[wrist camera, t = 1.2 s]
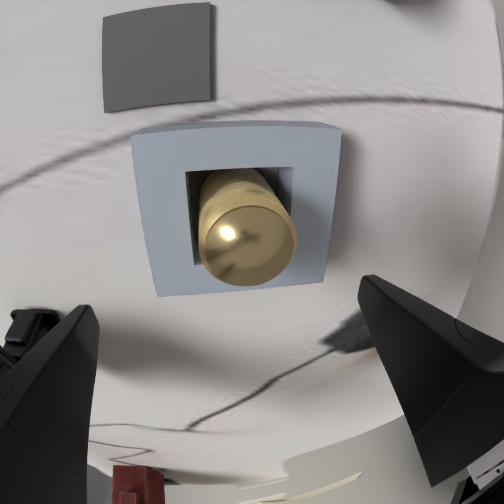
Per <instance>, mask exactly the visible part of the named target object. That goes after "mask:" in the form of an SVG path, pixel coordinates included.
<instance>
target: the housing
mask: <svg viewBox="0 0 504 504" xmlns="http://www.w3.org/2000/svg"><path fill="white" fill-rule="evenodd" d="M341 132H342V129H339V128H336V127H333V126H330V125H327V124H324V123H321V122H304V121H220V122H202V123H188V124H177V125H167V126H158V127H150V128H143V129H141V130H139V131H138V132H136V133H134V134H133V135H131V145H132V155H133V164H134V172H135V180H136V187H137V194H138V201H139V207H140V213H141V219H142V225H143V231H144V236H145V242H146V247H147V252H148V257H149V262H150V267H151V271H152V276H153V280H154V285H155V289H156V293H157V297H164V296H179V295H193V294H206V293H219V292H230V291H242V290H253V289H263V288H273V287H283V286H293V285H302V284H311V283H320V282H323V280H324V274H325V268H326V262H327V255H328V249H329V242H330V235H331V228H332V220H333V213H334V205H335V196H336V187H337V178H338V168H339V157H340V145H341ZM257 167H279V175H278V199H279V201H280V203H281V204H282V206H283V207H284V209H285V210H286V212H287V213H288V215H289V216H290V218H291V219H292V221H293V223H294V225H295V228H296V231H297V248H296V251H295V254H294V257H293V259H292V260H291V262H290V264H289V265H288V266H287V267H286V269H285V270H284V271H283V272H282V273H280V274H279V275H278V276H276V277H275V278H273V279H272V280H270V281H268V282H266V283H263V284H260V285H256V286H246V287H244V286H234V285H230V284H227V283H224V282H222V281H220V280H218V279H217V278H215V277H214V276H213V275H211V274H210V273H209V272H208V270H207V269H206V268H205V266H204V265H203V263H202V260H201V258H200V254H199V239H197V240H195V236H194V226H193V215H192V204H191V192H190V179H189V171H200V170H215V169H233V168H257Z"/></svg>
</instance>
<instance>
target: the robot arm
mask: <svg viewBox="0 0 504 504" xmlns="http://www.w3.org/2000/svg"><path fill="white" fill-rule="evenodd" d="M358 303H359V305H360V308H361V311H362V314H363V316H364V319H365V322H366V325H367V328H368V331H369V334H370V336H371V339H372V341H373V343H374V345H375V348H376V350H377V352H378V354H379V356H380V358H381V361H382V363H383V365H384V367H385V370H386V372H387V374H388V376H389V379H390V381H391V383H392V386H393V388H394V390H395V393H396V395H397V397H398V400H399V402H400V405H401V407H402V409H403V412H404V414H405V417H406V419H407V422H408V424H409V427H410V430H411V432H412V435H413V437H414V440H415V443H416V446H417V449H418V451H419V454H420V457H421V460H422V462H423V465H424V468H425V471H426V474H427V476H428V479H429V483H430V485H431V487H434V486H436V485H438V484H439V483H441V482H443V481H445V480H446V479H448V478H450V477H451V476H453V475H455V474H456V473H458V472H459V471H461V470H463V469H464V468H466V467H467V469H468V471H469V473H470V475H469V476H468V477H466V478H465V479H463V480H462V481H460V482H459V483H458V485H457V488H456V491H455V494H454V496H453V499H452V502H451V504H504V343H503V342H501V341H499V340H497V339H495V338H493V337H491V336H489V335H486V334H484V333H482V332H480V331H478V330H476V329H474V328H472V327H471V326H469V325H467V324H465V323H463V322H461V321H460V320H458V319H456V318H454V317H452V316H451V315H449V314H447V313H445V312H443V311H442V310H440V309H438V308H436V307H434V306H433V305H431V304H429V303H427V302H425V301H423V300H421V299H420V298H418V297H416V296H414V295H412V294H410V293H408V292H407V291H405V290H403V289H401V288H399V287H397V286H395V285H393V284H391V283H389V282H388V281H386V280H384V279H382V278H380V277H378V276H376V275H373V274H372V275H365V276H363V277H362V279H361V283H360V287H359V291H358ZM10 315H11V317H12V319H13V323H12V325H11V327H10V328H9V330H8V332H7V334H6V336H5V341H6V342H5V344H4V346H3V348H2V346H1V345H0V504H87V481H86V480H87V453H88V437H89V425H90V415H91V406H92V398H93V390H94V383H95V377H96V369H97V356H98V342H99V331H100V327H99V323H98V320H97V318H96V316H95V314H94V311H93V309H92V307H91V306H90V305H88V304H87V305H78V306H77V307H76V308H75V309H74V310H73V311H71V312H70V313H69V314H68V315H67V316H66V317H65V318H64V319H63V320H62V321H60V319H59V317H58V315H57V313H56V312H55V311H52V310H51V311H30V310H13V311H12V312H11V314H10ZM52 315H53V316H52Z"/></svg>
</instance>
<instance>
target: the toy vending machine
mask: <svg viewBox="0 0 504 504" xmlns="http://www.w3.org/2000/svg"><path fill="white" fill-rule="evenodd" d="M112 504H165V493H164V476H163V475H162V474H160V473H158V472H156V471H154V470H152V469H151V468H149V467H147V466H118V465H113V481H112Z"/></svg>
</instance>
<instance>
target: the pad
mask: <svg viewBox="0 0 504 504" xmlns="http://www.w3.org/2000/svg"><path fill="white" fill-rule="evenodd" d="M102 76H103V99H104V113H107V112H113V111H118V110H124V109H130V108H137V107H144V106H151V105H159V104H168V103H178V102H190V101H204V100H210V2H206V3H189V4H178V5H168V6H160V7H153V8H147V9H141V10H135V11H130V12H125V13H120V14H116V15H111V16H107V17H103V32H102Z"/></svg>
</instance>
